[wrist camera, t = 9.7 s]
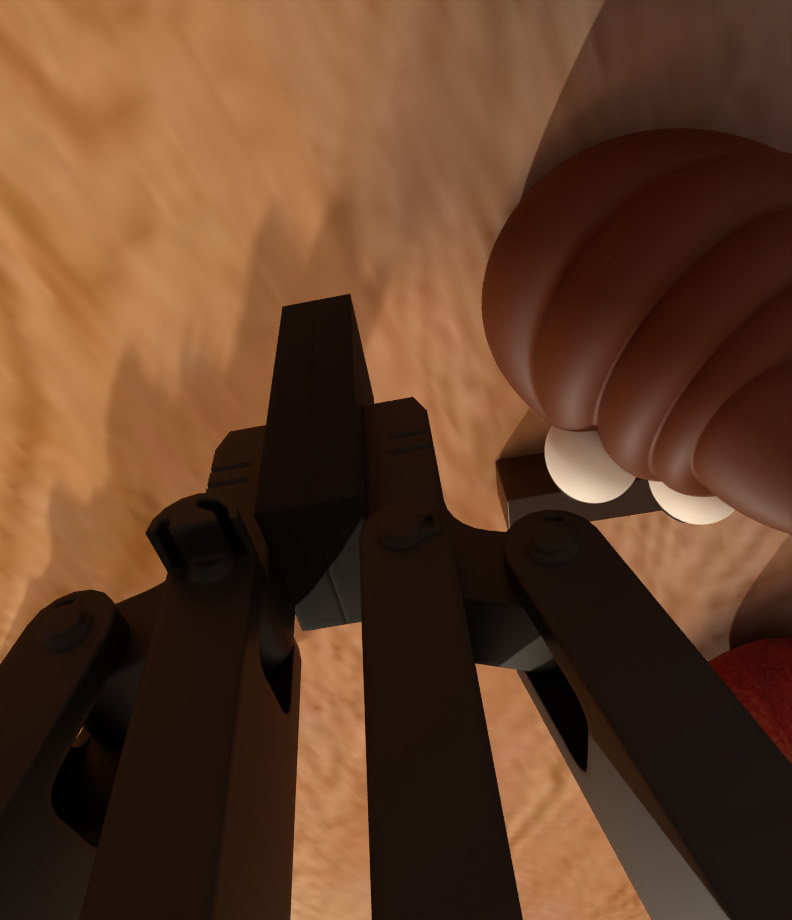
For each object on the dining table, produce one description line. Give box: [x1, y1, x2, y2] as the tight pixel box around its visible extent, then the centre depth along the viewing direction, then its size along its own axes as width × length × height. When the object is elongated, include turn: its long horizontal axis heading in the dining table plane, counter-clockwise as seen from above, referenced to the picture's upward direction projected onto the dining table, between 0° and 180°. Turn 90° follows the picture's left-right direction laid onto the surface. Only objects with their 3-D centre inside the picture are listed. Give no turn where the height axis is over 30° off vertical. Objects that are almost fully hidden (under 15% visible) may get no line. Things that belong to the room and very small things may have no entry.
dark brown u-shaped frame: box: [495, 453, 661, 529], centre depth 17 cm, size 16×14×2 cm
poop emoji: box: [482, 128, 792, 534], centre depth 15 cm, size 10×8×9 cm
